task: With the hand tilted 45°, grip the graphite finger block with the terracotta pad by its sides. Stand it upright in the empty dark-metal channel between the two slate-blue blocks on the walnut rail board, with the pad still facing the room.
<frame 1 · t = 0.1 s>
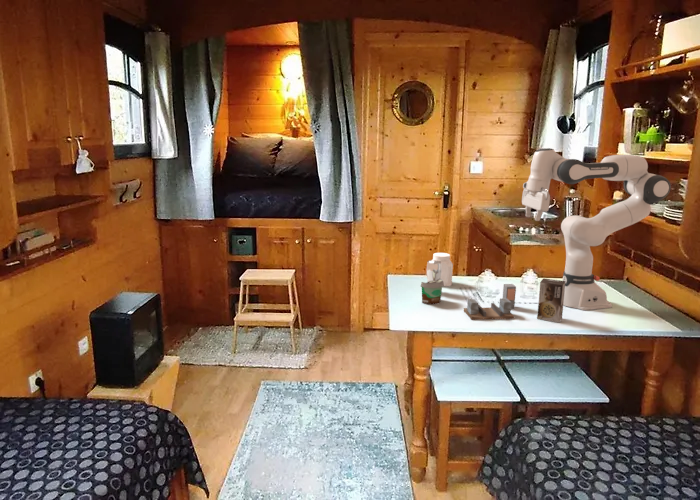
hand: (532, 218, 235), 39 cm above the table, tool pointing down, fingers open, 8 cm apart
rail board: (488, 314, 230), on the table
jar: (440, 283, 274), on the table
food container: (434, 303, 245), on the table
finger: (508, 307, 240), on the table
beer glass: (433, 292, 260), on the table
coffee box: (549, 319, 226), on the table
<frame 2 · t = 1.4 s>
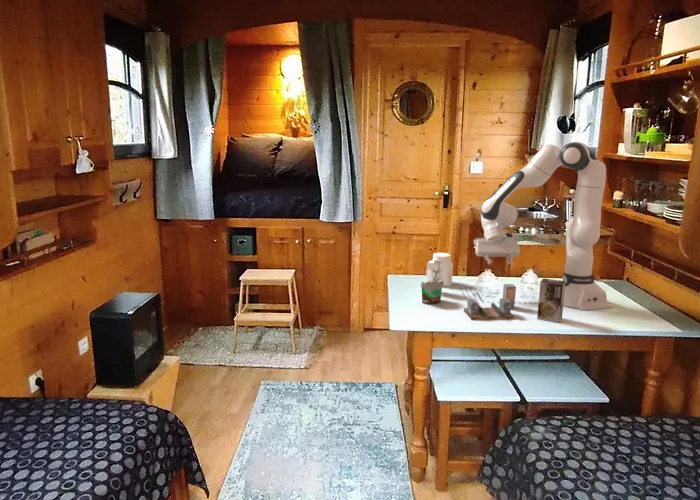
hand: (500, 263, 248), 16 cm above the table, tool tilted 45°, fingers open, 8 cm apart
nothing on the table moved.
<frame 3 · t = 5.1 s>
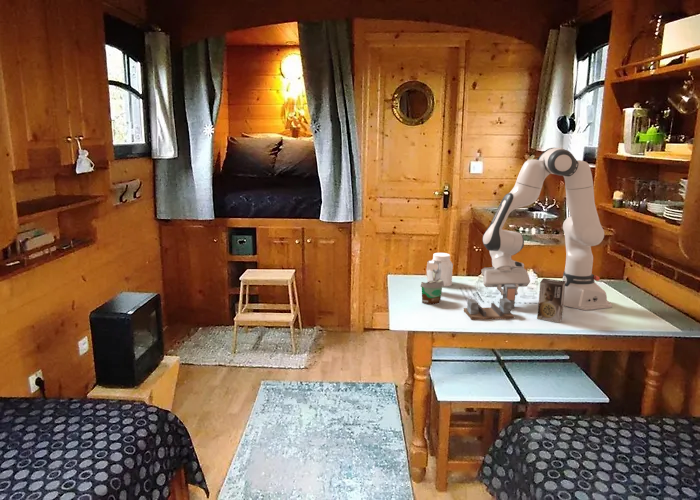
hand: (509, 294, 238), 6 cm above the table, tool tilted 45°, fingers closed on finger, 4 cm apart
finger: (508, 307, 240), on the table, touching gripper
everything else where it was.
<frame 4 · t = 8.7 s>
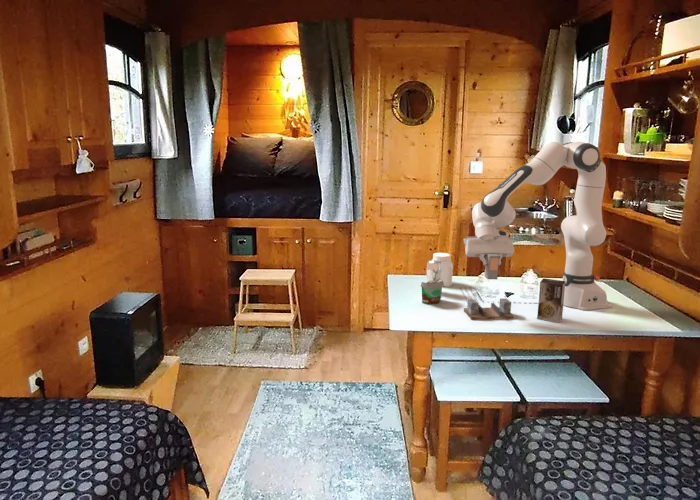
hand: (492, 264, 225), 22 cm above the table, tool tilted 45°, fingers closed on finger, 4 cm apart
finger: (490, 278, 227), point 16 cm above the table, touching gripper
everything else where it was.
when the fingers open (8 cm above the table, at t = 12.3 s): finger drops 1 cm, resting on rail board.
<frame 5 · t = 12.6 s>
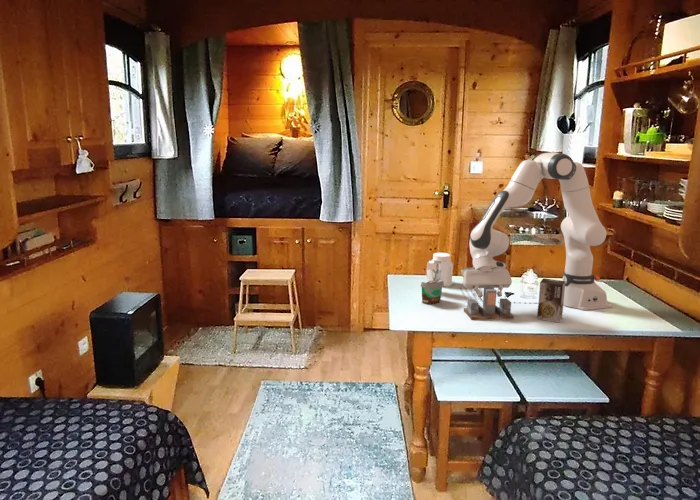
hand: (490, 296, 228), 8 cm above the table, tool tilted 45°, fingers open, 7 cm apart
finger: (488, 311, 230), point 1 cm above the table, touching rail board
everything else where it was.
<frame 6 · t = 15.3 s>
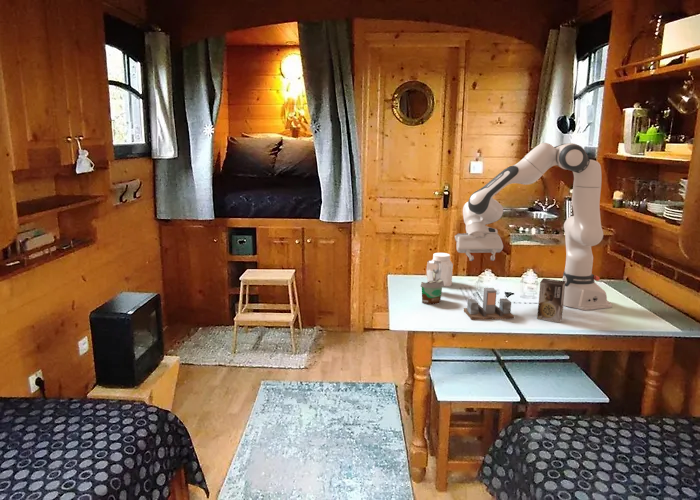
hand: (482, 260, 237), 21 cm above the table, tool tilted 45°, fingers open, 8 cm apart
nothing on the table moved.
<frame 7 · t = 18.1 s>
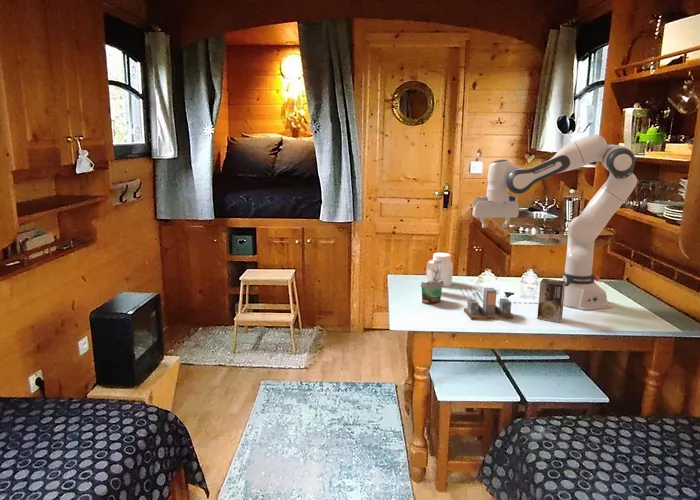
hand: (494, 227, 244), 33 cm above the table, tool pointing down, fingers open, 8 cm apart
nothing on the table moved.
at the end: finger 0.1 cm off-centre on the rail board, point 1.2 cm above the rail board's base; finger tilted 0°; the gripper is holding nothing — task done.
